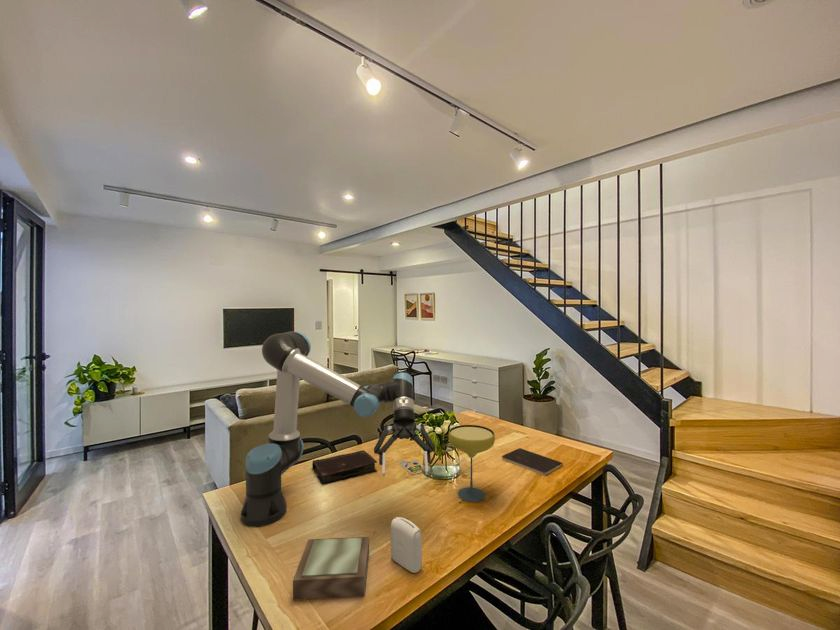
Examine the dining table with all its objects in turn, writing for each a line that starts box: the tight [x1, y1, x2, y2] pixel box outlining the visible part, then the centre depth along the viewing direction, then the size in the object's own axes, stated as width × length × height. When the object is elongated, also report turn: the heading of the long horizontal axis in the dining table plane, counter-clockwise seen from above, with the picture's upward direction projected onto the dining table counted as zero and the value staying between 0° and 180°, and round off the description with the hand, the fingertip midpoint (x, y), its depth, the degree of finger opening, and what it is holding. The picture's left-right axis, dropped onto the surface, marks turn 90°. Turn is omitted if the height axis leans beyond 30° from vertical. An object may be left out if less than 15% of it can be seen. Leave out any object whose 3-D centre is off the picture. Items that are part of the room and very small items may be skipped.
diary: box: [311, 449, 378, 486], centre depth 162 cm, size 19×25×5 cm
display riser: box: [292, 536, 370, 601], centre depth 99 cm, size 18×16×5 cm
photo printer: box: [390, 516, 423, 574], centre depth 103 cm, size 10×4×12 cm, turn 47°
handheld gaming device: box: [397, 458, 423, 475], centre depth 166 cm, size 9×1×15 cm
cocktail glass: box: [448, 424, 496, 503], centre depth 141 cm, size 18×18×25 cm
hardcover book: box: [501, 447, 563, 477], centre depth 170 cm, size 16×23×2 cm
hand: (405, 474), depth 113 cm, fingers open, 13 cm apart
